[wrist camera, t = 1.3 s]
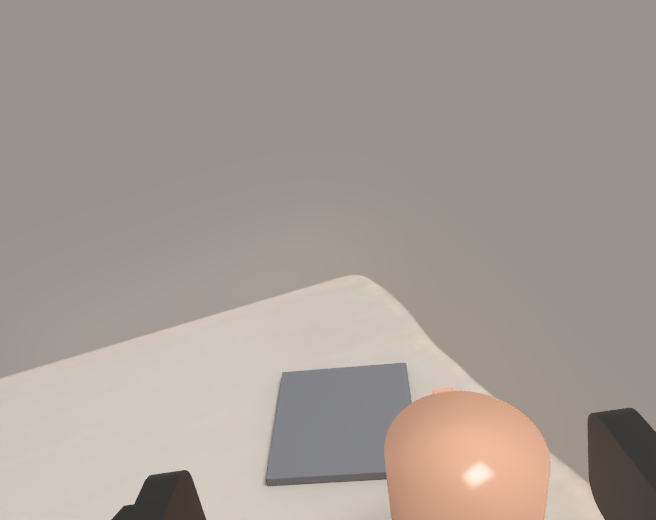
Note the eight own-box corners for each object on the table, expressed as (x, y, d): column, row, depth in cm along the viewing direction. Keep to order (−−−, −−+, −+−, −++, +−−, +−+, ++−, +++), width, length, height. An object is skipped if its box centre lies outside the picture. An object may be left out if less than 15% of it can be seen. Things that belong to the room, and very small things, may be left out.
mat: (267, 485, 41) (265, 479, 41) (283, 378, 52) (282, 372, 51) (421, 476, 40) (421, 469, 40) (406, 369, 50) (405, 362, 50)
